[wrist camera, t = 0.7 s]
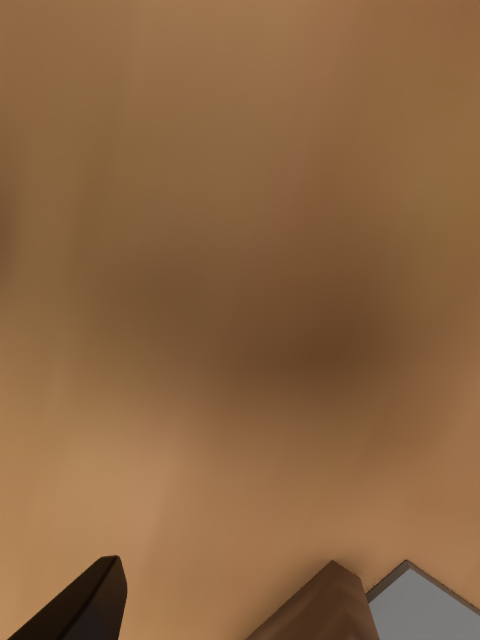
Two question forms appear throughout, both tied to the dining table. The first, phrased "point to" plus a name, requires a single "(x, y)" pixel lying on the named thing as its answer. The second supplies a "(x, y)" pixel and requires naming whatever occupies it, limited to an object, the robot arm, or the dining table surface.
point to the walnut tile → (323, 611)
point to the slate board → (420, 608)
